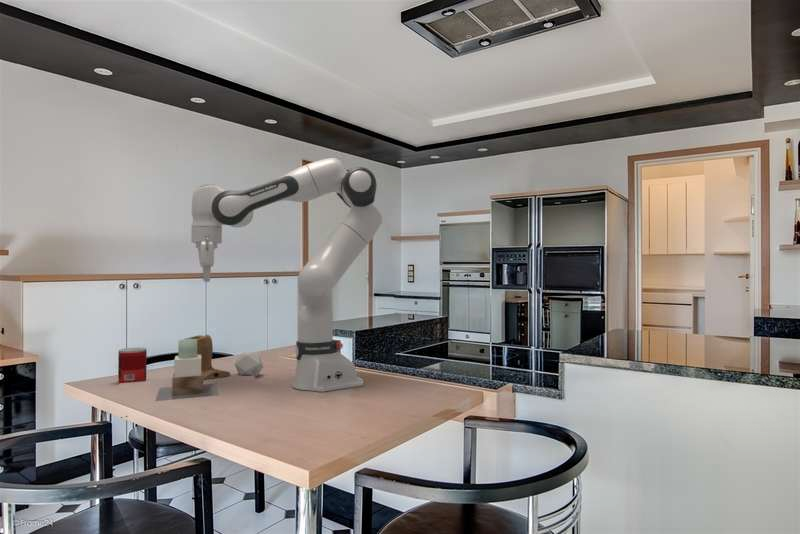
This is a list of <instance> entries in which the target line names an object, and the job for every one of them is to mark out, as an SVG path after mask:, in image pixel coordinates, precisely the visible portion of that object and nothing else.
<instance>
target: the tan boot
mask: <svg viewBox="0 0 800 534" xmlns="http://www.w3.org/2000/svg"><path fill="white" fill-rule="evenodd" d="M184 339H197V355H201V371H203V381H207V380H214V379H221V378H222V379H223V378H227V377H230V376H231V372H230V371H226V370H222V369H218V368H217V369H216V368H214V367H213V365H212V357H213V350H214V348H213V341H212V337H211V335H209V334H205V335H193V336H190V337H187V338H186V337H185V338H184Z"/></svg>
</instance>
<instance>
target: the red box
mask: <svg viewBox="0 0 800 534" xmlns="http://www.w3.org/2000/svg"><path fill="white" fill-rule="evenodd" d="M147 353H148V352H147V348H146V347H140V346H138V347H136V346H135V347H127V348H121V349H118V363H117V365H118V369H117V370H118V373H117V375H118V381H117V382H118V385H120V384H127V383H128V384H129V383H141V382H142V383H144V382H146V381H147V360H148V359H147V357H148V356H147V355H148V354H147Z"/></svg>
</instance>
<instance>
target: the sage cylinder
mask: <svg viewBox="0 0 800 534" xmlns="http://www.w3.org/2000/svg"><path fill="white" fill-rule="evenodd" d="M178 356H179V358H180V359H189V358H195V357H197V339H185V338H183V339H179V340H178Z"/></svg>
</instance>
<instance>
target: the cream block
mask: <svg viewBox="0 0 800 534" xmlns="http://www.w3.org/2000/svg"><path fill="white" fill-rule="evenodd" d="M173 362H174V372H173V374H174V378H177V377H190V376H201V355H197V357H195V358H189V359H180V358H179V355H175V357H174V361H173Z"/></svg>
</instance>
